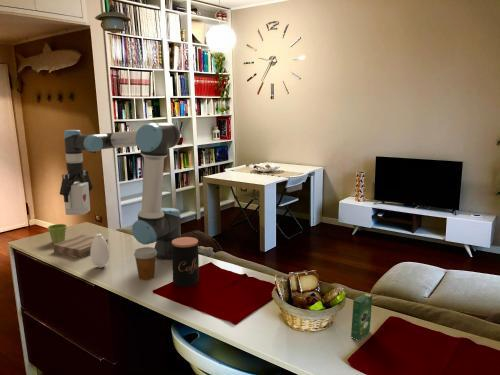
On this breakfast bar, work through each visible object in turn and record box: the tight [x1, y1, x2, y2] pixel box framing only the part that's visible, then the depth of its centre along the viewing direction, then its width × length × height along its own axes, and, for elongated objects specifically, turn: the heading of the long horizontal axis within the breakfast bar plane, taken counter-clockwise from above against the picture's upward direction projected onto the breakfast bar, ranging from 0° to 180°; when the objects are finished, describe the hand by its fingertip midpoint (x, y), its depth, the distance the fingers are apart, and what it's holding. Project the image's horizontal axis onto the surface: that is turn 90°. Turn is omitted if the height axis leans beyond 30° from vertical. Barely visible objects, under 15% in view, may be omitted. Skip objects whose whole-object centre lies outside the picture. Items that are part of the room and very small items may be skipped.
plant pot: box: [47, 223, 68, 245], centre depth 221 cm, size 9×9×9 cm
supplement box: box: [64, 181, 91, 216], centre depth 205 cm, size 9×9×15 cm
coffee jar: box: [171, 236, 200, 288], centre depth 170 cm, size 11×11×18 cm
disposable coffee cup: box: [133, 246, 157, 281], centre depth 176 cm, size 10×10×12 cm
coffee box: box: [350, 292, 373, 341], centre depth 132 cm, size 8×3×13 cm, turn 137°
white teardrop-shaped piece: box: [89, 228, 110, 269], centre depth 186 cm, size 8×8×18 cm
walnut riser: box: [52, 234, 109, 259], centre depth 210 cm, size 18×18×4 cm
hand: (78, 205), depth 206 cm, fingers closed on supplement box, 11 cm apart
